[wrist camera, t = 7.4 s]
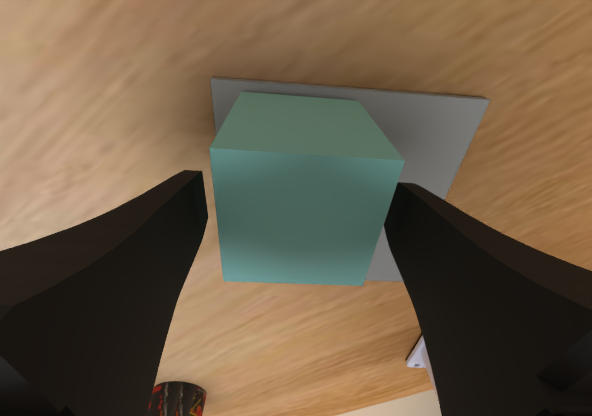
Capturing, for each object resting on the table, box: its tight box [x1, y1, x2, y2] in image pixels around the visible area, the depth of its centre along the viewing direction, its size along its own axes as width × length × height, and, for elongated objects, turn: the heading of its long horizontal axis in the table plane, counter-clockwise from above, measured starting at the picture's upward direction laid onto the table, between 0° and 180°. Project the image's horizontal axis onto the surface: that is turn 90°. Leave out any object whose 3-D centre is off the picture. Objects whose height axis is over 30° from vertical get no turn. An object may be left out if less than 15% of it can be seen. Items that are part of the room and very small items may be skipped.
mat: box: [210, 77, 490, 282], centre depth 17 cm, size 13×13×1 cm
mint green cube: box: [209, 92, 405, 286], centre depth 11 cm, size 5×5×6 cm
